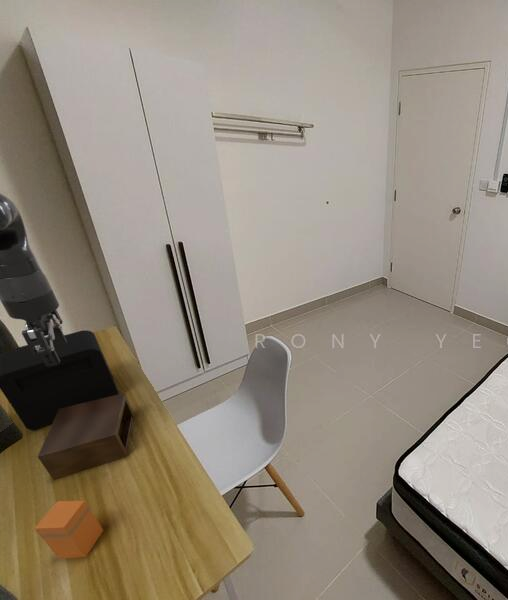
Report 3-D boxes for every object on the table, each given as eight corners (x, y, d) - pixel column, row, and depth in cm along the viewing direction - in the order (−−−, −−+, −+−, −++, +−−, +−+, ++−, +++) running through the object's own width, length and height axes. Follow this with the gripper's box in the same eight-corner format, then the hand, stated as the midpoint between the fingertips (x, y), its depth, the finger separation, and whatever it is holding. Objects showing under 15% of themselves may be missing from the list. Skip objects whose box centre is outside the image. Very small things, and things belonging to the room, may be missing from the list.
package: (86, 558, 66) (63, 527, 61) (58, 559, 65) (34, 528, 60) (104, 530, 70) (84, 500, 65) (78, 531, 70) (57, 501, 65)
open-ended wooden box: (54, 481, 79) (37, 456, 75) (72, 432, 91) (58, 408, 87) (126, 458, 85) (115, 434, 81) (134, 415, 97) (124, 392, 93)
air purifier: (113, 374, 111) (91, 325, 102) (121, 397, 103) (99, 346, 94) (28, 404, 98) (-6, 350, 89) (29, 433, 90) (-8, 377, 80)
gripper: (9, 282, 71) (42, 343, 78) (-14, 310, 61) (26, 378, 68) (57, 276, 75) (83, 335, 82) (43, 302, 65) (74, 366, 72)
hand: (57, 354), depth 75 cm, fingers open, 8 cm apart
